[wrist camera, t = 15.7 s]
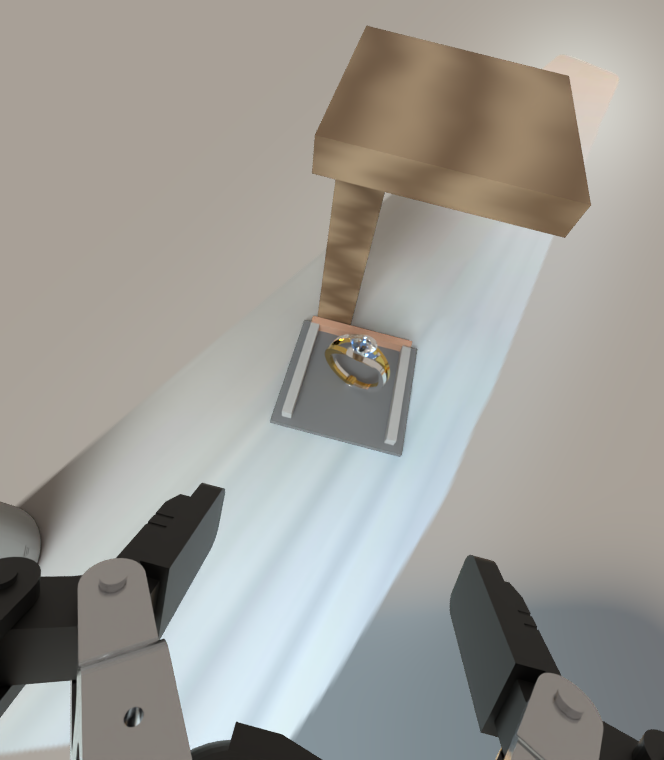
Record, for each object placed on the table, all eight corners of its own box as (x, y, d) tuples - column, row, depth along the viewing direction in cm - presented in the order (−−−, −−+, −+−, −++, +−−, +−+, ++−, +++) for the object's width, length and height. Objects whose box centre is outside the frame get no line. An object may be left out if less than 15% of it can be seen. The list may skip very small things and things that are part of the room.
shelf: (296, 387, 42) (314, 135, 19) (326, 294, 49) (366, 25, 26) (419, 419, 42) (591, 204, 19) (431, 322, 49) (568, 76, 26)
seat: (270, 422, 40) (269, 415, 39) (304, 322, 47) (305, 313, 45) (400, 456, 40) (404, 451, 38) (415, 351, 47) (420, 343, 45)
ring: (383, 391, 43) (403, 352, 36) (368, 411, 41) (385, 375, 34) (333, 357, 44) (343, 313, 37) (316, 375, 43) (323, 334, 36)
